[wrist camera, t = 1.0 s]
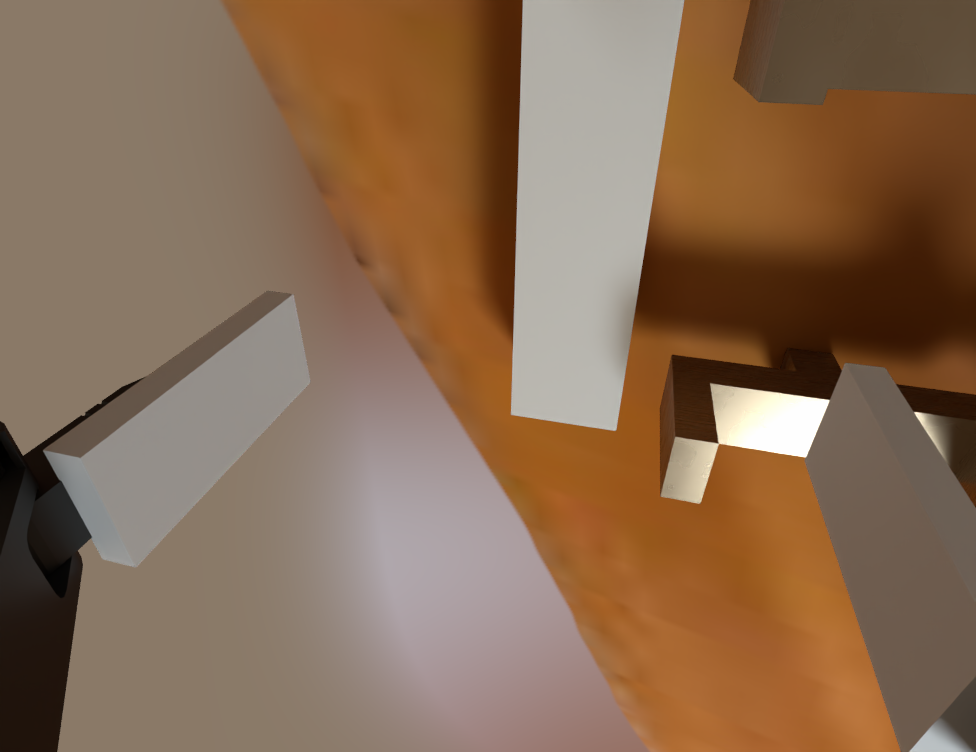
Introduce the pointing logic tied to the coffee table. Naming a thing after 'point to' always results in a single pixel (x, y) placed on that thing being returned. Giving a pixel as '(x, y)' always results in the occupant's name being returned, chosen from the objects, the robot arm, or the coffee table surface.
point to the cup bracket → (805, 374)
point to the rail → (585, 196)
